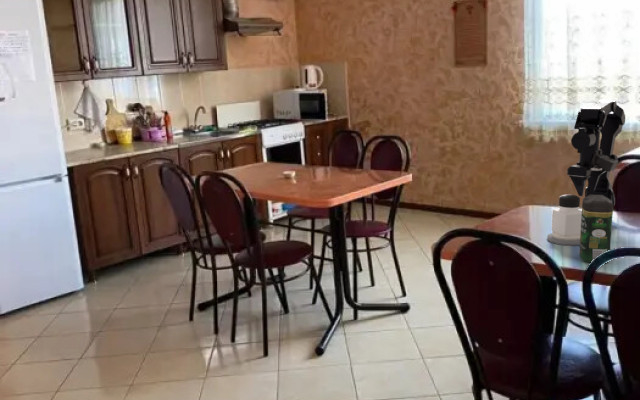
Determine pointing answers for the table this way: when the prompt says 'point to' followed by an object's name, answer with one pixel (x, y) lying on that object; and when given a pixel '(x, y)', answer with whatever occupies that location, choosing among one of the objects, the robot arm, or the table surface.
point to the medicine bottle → (567, 216)
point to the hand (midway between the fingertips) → (586, 193)
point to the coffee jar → (595, 226)
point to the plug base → (572, 243)
